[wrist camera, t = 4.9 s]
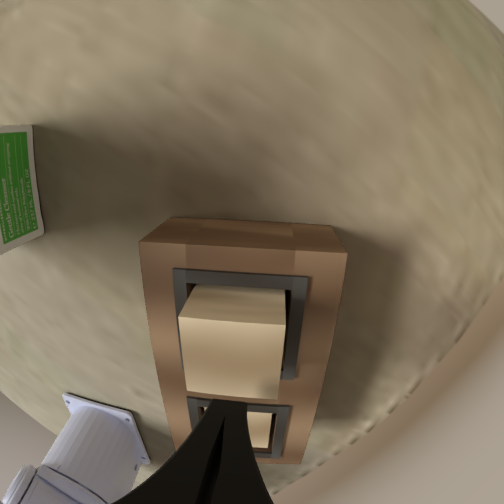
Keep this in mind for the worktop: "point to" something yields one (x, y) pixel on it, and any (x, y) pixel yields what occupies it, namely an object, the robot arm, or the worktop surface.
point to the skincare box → (18, 188)
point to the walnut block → (255, 276)
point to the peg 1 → (233, 340)
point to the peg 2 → (258, 428)
